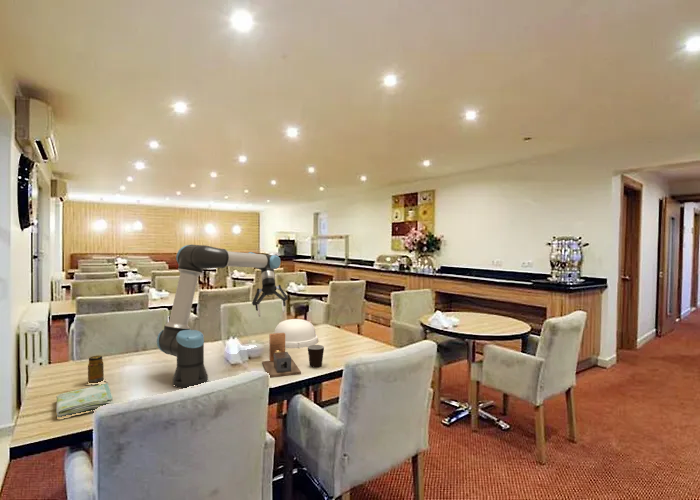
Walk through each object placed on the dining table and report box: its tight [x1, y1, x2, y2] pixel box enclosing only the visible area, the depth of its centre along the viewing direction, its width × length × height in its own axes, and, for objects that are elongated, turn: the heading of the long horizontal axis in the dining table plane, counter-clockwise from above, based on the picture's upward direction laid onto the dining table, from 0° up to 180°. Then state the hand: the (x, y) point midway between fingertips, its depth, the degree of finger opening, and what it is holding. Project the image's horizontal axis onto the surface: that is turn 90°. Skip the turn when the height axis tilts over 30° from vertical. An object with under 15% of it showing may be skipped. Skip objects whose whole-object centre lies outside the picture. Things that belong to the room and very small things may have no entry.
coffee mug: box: [307, 344, 325, 369], centre depth 210 cm, size 12×9×10 cm
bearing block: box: [274, 351, 292, 373], centre depth 200 cm, size 7×10×7 cm
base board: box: [261, 358, 302, 379], centre depth 204 cm, size 16×22×1 cm
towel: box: [55, 382, 113, 417], centre depth 158 cm, size 18×21×5 cm
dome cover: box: [273, 318, 319, 349], centre depth 256 cm, size 32×30×14 cm
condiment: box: [87, 355, 105, 383], centre depth 182 cm, size 7×8×12 cm
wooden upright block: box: [268, 332, 286, 364], centre depth 207 cm, size 8×16×14 cm, turn 20°
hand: (271, 313), depth 222 cm, fingers open, 13 cm apart
